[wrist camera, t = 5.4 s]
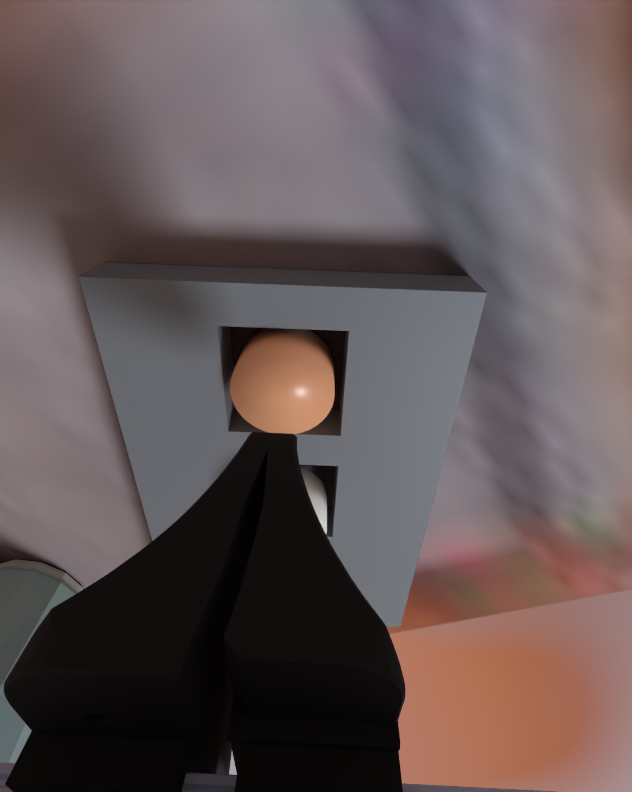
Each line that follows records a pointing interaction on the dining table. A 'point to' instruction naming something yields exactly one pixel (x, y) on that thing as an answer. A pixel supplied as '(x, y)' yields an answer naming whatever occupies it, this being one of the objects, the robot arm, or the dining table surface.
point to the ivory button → (316, 496)
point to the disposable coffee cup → (23, 631)
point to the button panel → (325, 443)
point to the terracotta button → (284, 380)
